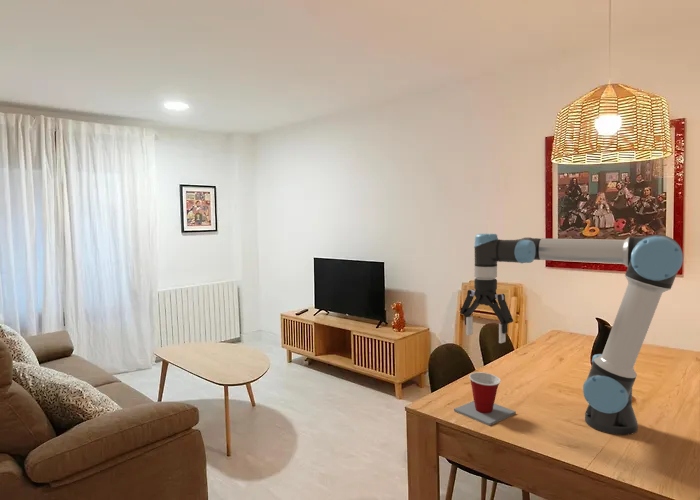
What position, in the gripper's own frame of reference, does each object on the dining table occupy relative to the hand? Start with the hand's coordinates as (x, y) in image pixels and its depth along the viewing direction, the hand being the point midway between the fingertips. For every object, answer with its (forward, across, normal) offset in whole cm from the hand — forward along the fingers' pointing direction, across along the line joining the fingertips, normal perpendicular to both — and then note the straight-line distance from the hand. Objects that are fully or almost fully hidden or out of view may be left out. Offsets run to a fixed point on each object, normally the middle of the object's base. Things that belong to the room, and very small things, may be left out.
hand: (485, 338), depth 162 cm
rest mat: (+27, 0, 0) cm, 27 cm away
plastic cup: (+26, 0, 0) cm, 26 cm away
